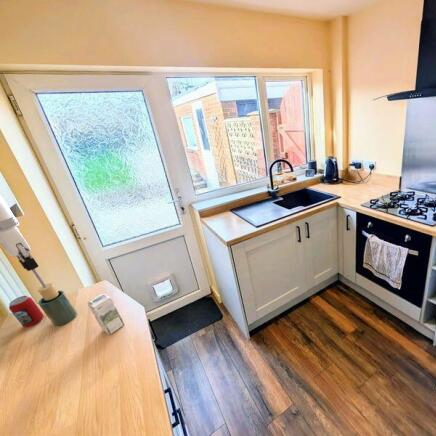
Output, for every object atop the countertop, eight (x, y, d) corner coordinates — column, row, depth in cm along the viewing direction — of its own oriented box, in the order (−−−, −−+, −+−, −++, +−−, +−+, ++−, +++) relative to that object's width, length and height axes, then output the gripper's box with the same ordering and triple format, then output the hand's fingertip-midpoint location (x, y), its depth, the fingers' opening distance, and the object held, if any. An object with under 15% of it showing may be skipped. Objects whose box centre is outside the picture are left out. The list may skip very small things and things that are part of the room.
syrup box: (118, 319, 100) (102, 292, 94) (125, 324, 97) (110, 297, 91) (102, 330, 96) (86, 302, 90) (110, 336, 93) (93, 307, 87)
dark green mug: (58, 329, 99) (42, 307, 94) (50, 322, 103) (35, 301, 98) (80, 315, 105) (66, 293, 100) (72, 309, 109) (59, 288, 104)
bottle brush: (47, 301, 96) (17, 259, 88) (42, 298, 98) (13, 257, 90) (60, 294, 100) (33, 253, 91) (56, 291, 102) (29, 251, 93)
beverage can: (19, 327, 102) (2, 305, 97) (37, 314, 108) (22, 293, 103) (30, 329, 101) (13, 307, 96) (48, 316, 107) (33, 295, 101)
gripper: (-20, 226, 86) (11, 268, 94) (-7, 233, 78) (25, 279, 86) (10, 217, 92) (37, 258, 100) (24, 223, 84) (52, 266, 92)
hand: (31, 267), depth 93 cm, fingers closed on bottle brush, 2 cm apart
